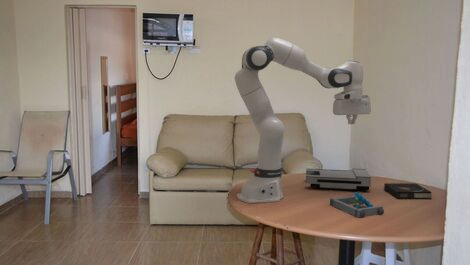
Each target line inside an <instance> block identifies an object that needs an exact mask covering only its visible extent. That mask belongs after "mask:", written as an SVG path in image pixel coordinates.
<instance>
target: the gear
mask: <svg viewBox="0 0 470 265" xmlns="http://www.w3.org/2000/svg"><path fill="white" fill-rule="evenodd" d="M353 196H356V198H355V199H356V200H355V201H356V202H355V203H353V204H352V206H353V207H355V206H356V205H357V206H356V207H355V208H357V209H360V208H361V206H363V205H364V206H365V207H366V208H367V207H374V205H373V204H372V203H371V201H370V200H367V198H366V197H365V196H363V195H362V194H361V193H359V192H354V193H353Z"/></svg>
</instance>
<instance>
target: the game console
mask: <svg viewBox="0 0 470 265" xmlns="http://www.w3.org/2000/svg"><path fill="white" fill-rule="evenodd" d="M371 181H372V176H370V173H369V172H368V171H367V169H366V168H352V170H349V169H348V170H347V169H346V170H343V169H322V168H321V169H320V168H306V170H305V184H310V187H313V188H315V191H316V190H317V191H318V190H319V191H330V190H333V191H334V192H354V193H355V192H357V193H366V190H367V191H369V190H370V187H371V185H372V184H371V183H372V182H371ZM333 191H332V192H333Z"/></svg>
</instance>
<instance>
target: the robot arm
mask: <svg viewBox="0 0 470 265" xmlns="http://www.w3.org/2000/svg"><path fill="white" fill-rule="evenodd" d="M271 62H274V63H277V64H278V65H281V66H283V67H285V68H287V69H291V70H293V71H299V72H302V73H304V74H305V75H307V76H310V77H312V78H313V79H315V80H316V81H317V82H318V83H319V84H320V85H321V87H324V88H325V89H341V88H343V90H342V91H341V92H339V93H335V94H334V96H333V98H334V100H333V105H332V113H333V115H335V116H346V120H347V124H348V125H355V124H356V120H357V118H358V115H360V116H361V115H370V113H371V112H372V111H371V110H372V108H371V107H372V106H371V97H370V96H369V95H367V94H366V95H365V94H364V95H363V90H364V88H363V81H364V66H363V64H362V63H361V62H359V61H356V60H347V61H346V62H344V63H342V64H340V65H338V66H336V67H322V66H320V65H318V64H316V63H315V62H313V61H311V60H309V58H307V54H306V52H305V50H303V49H302V48H301V47H300V46H298V45H296V44H294V43H292V42H291V41H288V40H286V39H283V38H279V37H276V36H275V37H274V36H273V37H270V38H268V40H267V41H266V42H265V43H264V45H257V46H251V47H249V48H248V49H246V50H245V51H244V53H243V54H242V58H241V68H240V69H239V70H238V71H237V72H236V73H235V75H234V82H235V84H236V87H237V91H238V93H239V95H240V97H241V99H242V101H243V103H244V105H245V107H246V109H247V111H248V113H249V115H250V118H251V120H252V123H253V124H254V126H255V128H256V131H257V133H258V134H259V142H258V149H257V167H256V168H253V167H251V168H250V169H249V171H250V172H251V173H253V176H251V177H250V178H249V179H248V180H247V181H245V182H244V183H243V184H242V187H241V192H239V193H237V194H236V198H237V199H238V200H239V201H241V202H242V203H243V202H245V203H248V204H254V203H255V204H256V203H257V204H258V203H271V202H272V203H275V202H280V201H281V199H284V193H283V190H282V170H283V169H282V166H281V164H282V149H283V142H284V137H285V136H284V134H285V126H284V122H282V120H281V119H279V118H278V117H277V116H276V114H275V111H274V109H273V106H272V104H271V100H270V98H269V97H268V94H267V92H266V90H265V88H264V86H263V84H262V82H261V80H260V78H259V71H262V70H265V69H266V68H267V67H268V66H269V65H270V63H271ZM351 117H352V118H351Z"/></svg>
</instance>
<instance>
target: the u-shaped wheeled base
mask: <svg viewBox="0 0 470 265" xmlns="http://www.w3.org/2000/svg"><path fill="white" fill-rule="evenodd" d="M355 198H356V196H355V195H351V196H343V197H342V196H341V197H335V198H334V197H332V198H331V197H330V198H329V205H330V206H331V207H333V208H336V209H338V210H340V211H342V212H345V213H347V214H349V215H351V216H354V217H355V218H358V219H359V218H362V219H363V218H365V217H367V216H373V215H375V216H376V215H380V216H381V215H384V213H385V209H384V206H383V205H376V206H374V205H373V207H367V206H366V207H359V208H358V209H357V208H356V207H355V206H353V204H354V203H355V202H356V201H355V200H356V199H355ZM351 204H352V205H351Z"/></svg>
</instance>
